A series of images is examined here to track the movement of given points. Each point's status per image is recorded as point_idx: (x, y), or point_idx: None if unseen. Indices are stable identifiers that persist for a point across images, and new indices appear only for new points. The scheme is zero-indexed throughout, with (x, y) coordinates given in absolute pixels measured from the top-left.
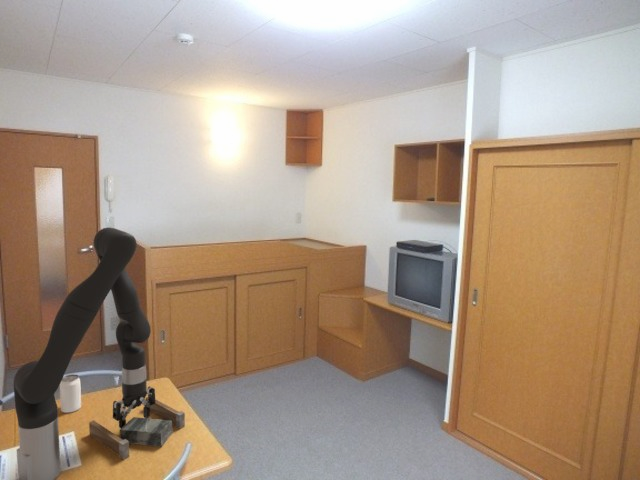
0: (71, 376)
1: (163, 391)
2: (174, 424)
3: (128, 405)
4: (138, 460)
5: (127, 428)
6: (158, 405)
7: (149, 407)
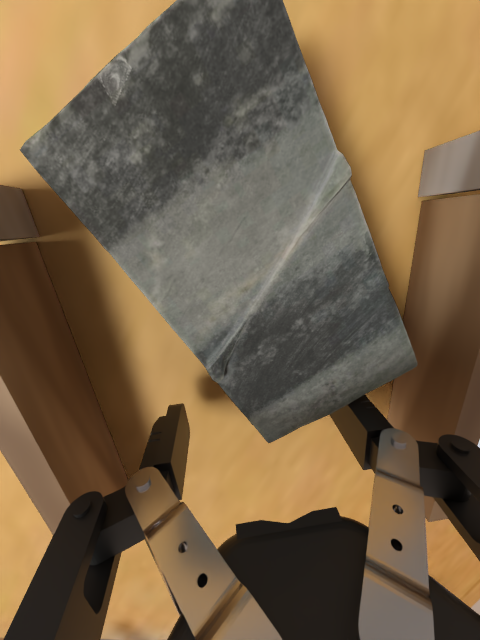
0: None
1: (4, 569)
2: (41, 265)
3: (432, 588)
4: (425, 44)
5: (385, 342)
6: (63, 475)
7: (145, 472)
